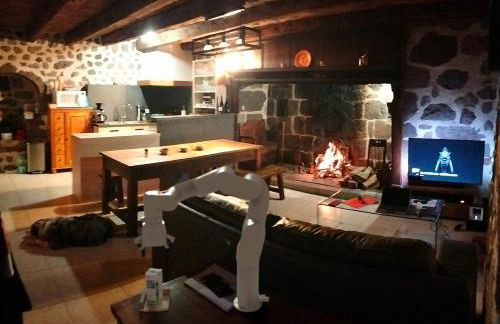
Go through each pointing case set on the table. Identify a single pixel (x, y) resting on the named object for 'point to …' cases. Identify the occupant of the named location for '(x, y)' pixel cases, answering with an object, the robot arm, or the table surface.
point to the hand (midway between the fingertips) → (155, 256)
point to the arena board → (154, 307)
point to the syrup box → (154, 286)
